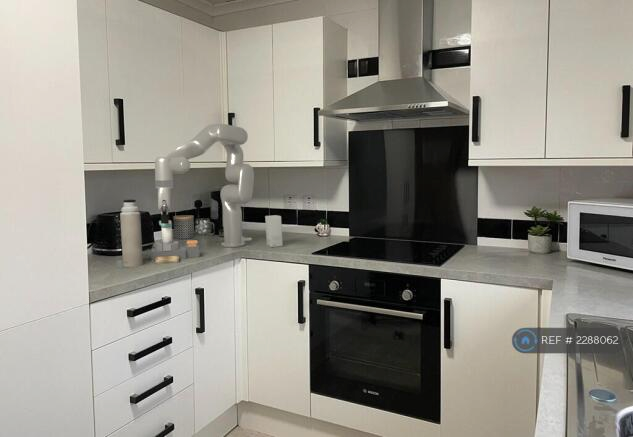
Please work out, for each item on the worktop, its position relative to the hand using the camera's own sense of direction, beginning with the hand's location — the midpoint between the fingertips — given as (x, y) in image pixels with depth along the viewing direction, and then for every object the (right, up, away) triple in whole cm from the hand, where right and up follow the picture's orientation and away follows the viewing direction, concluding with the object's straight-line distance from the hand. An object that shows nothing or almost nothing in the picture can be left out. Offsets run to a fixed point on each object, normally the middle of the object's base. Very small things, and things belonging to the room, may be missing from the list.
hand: (165, 222), depth 230 cm
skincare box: (+47, -13, +31) cm, 57 cm away
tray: (+3, -17, -6) cm, 18 cm away
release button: (+11, -15, +5) cm, 19 cm away
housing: (+4, -16, +3) cm, 17 cm away
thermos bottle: (-10, -18, -13) cm, 25 cm away
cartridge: (0, -12, +2) cm, 12 cm away
